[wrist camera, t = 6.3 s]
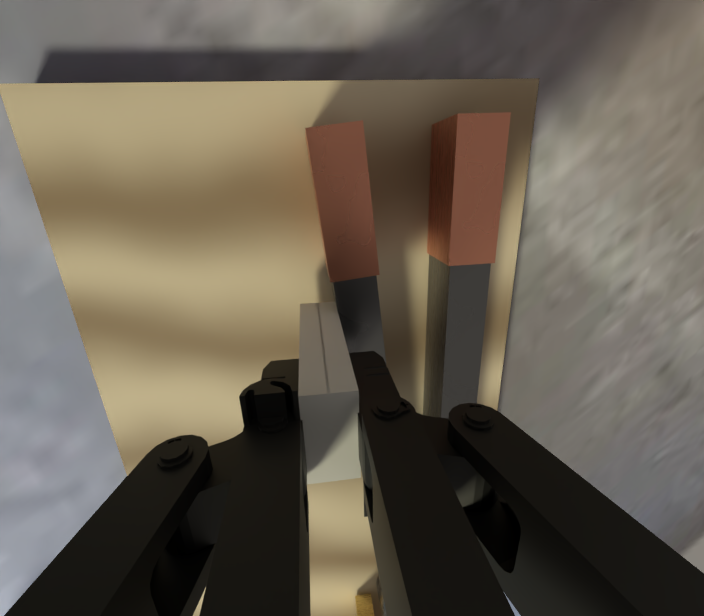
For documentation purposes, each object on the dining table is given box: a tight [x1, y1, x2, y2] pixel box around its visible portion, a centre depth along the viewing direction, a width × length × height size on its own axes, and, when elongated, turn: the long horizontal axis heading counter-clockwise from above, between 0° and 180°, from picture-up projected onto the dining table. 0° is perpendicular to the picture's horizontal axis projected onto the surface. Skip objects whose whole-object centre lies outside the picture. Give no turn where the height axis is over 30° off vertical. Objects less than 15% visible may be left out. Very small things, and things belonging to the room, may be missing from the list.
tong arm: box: [305, 120, 386, 599], centre depth 16 cm, size 23×2×2 cm, turn 8°
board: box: [0, 78, 539, 616], centre depth 19 cm, size 33×19×2 cm, turn 2°
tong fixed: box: [376, 112, 511, 616], centre depth 17 cm, size 28×4×2 cm, turn 2°
